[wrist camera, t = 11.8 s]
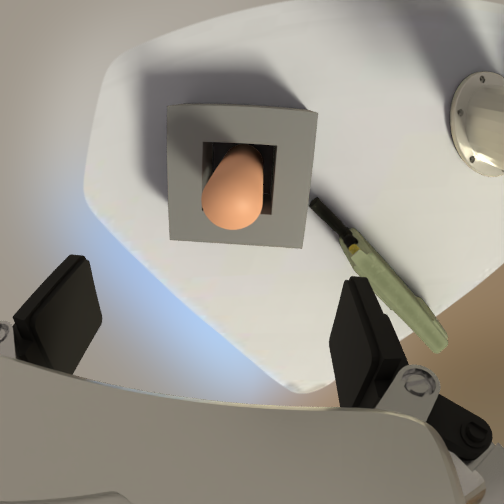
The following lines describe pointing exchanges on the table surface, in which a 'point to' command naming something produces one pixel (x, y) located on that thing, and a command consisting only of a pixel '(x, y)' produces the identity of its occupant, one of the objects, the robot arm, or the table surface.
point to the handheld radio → (385, 281)
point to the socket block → (251, 132)
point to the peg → (235, 189)
